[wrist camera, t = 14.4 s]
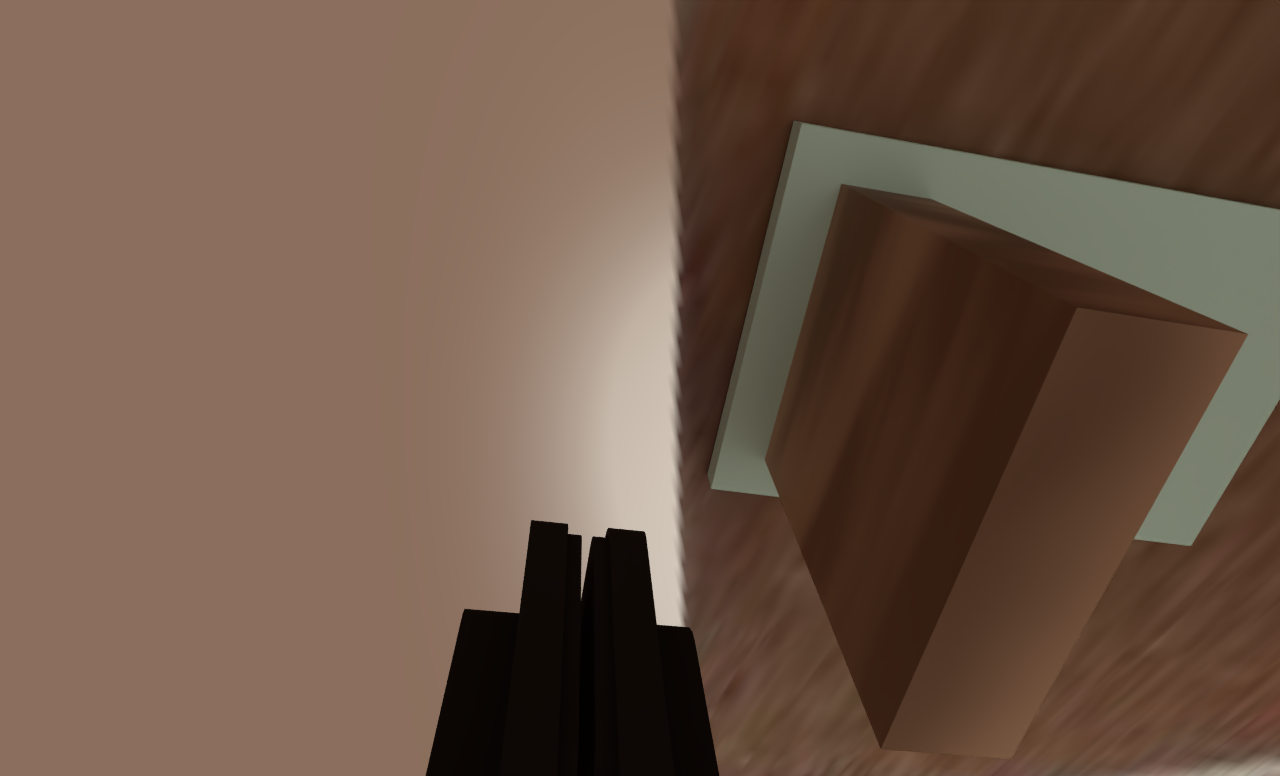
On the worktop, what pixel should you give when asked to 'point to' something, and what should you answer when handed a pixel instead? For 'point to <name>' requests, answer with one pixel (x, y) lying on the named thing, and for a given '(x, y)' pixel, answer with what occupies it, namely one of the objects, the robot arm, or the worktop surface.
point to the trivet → (1051, 217)
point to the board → (974, 457)
